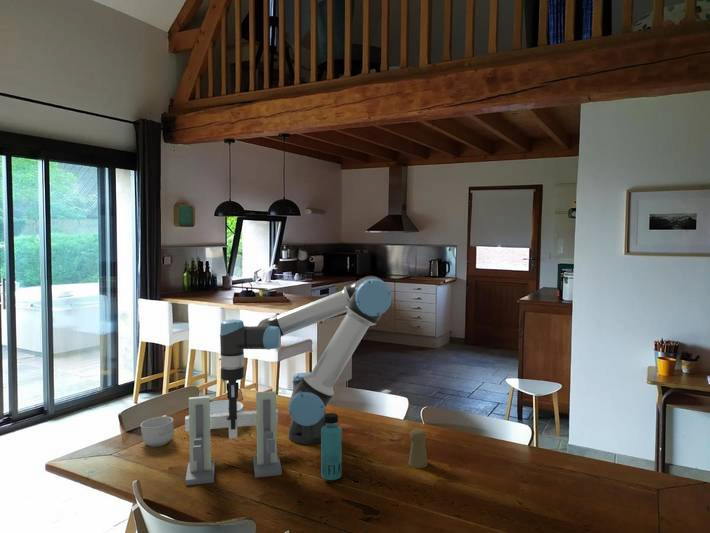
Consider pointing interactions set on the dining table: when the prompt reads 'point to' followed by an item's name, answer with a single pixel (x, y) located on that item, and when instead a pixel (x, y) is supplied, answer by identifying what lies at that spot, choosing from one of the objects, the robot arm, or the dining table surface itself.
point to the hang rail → (221, 420)
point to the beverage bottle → (331, 448)
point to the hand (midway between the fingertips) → (233, 435)
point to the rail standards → (199, 437)
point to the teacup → (157, 431)
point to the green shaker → (418, 449)
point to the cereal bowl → (223, 407)
